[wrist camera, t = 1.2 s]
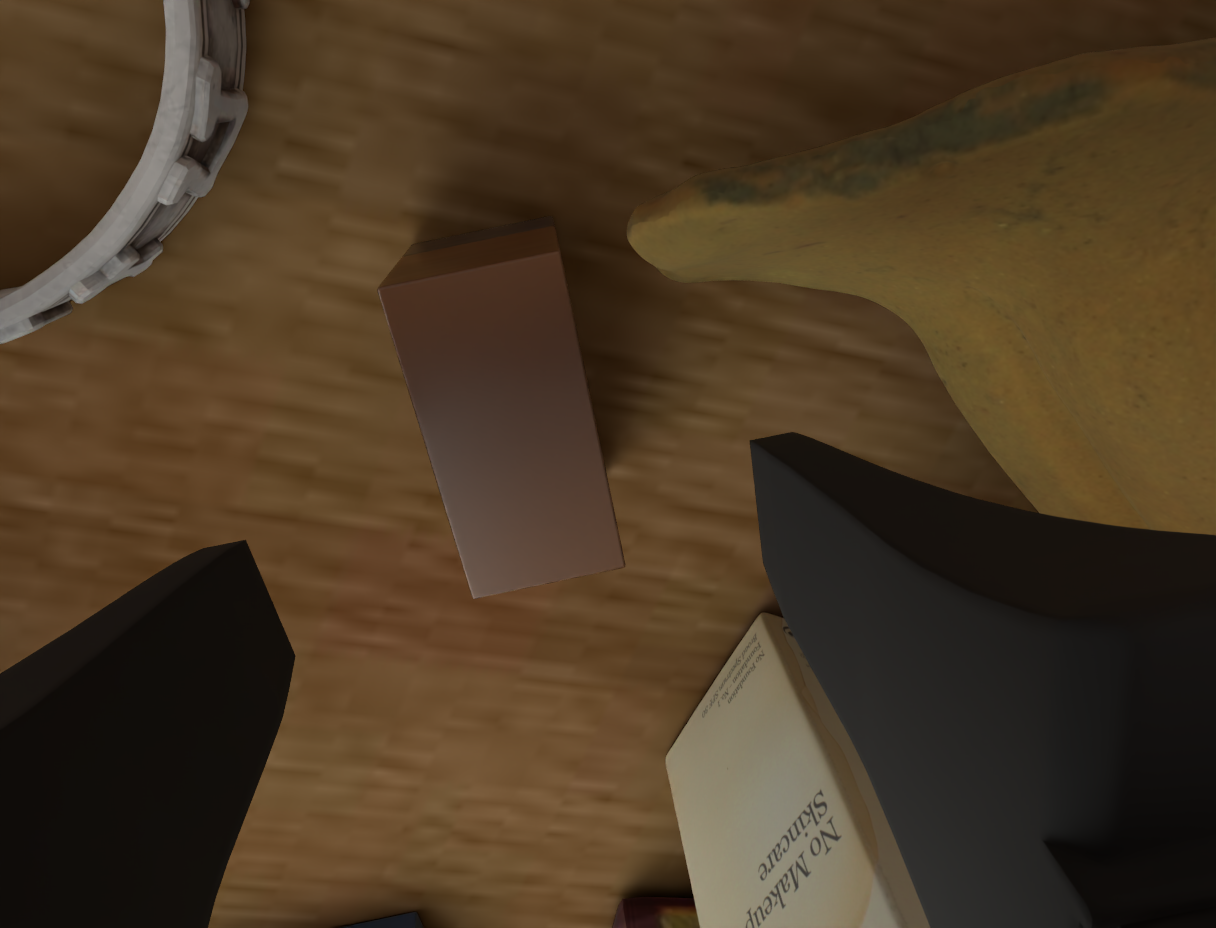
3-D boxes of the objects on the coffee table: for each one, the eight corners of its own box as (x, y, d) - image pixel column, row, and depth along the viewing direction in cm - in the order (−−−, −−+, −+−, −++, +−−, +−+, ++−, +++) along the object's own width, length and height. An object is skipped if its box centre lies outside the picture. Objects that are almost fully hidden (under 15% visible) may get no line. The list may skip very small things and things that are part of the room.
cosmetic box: (758, 604, 23) (978, 1086, 12) (887, 650, 24) (1198, 1131, 13) (658, 763, 25) (762, 1298, 14) (780, 799, 26) (968, 1321, 15)
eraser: (606, 474, 21) (626, 568, 16) (483, 500, 20) (472, 600, 16) (552, 215, 18) (560, 250, 14) (410, 244, 18) (375, 287, 14)
